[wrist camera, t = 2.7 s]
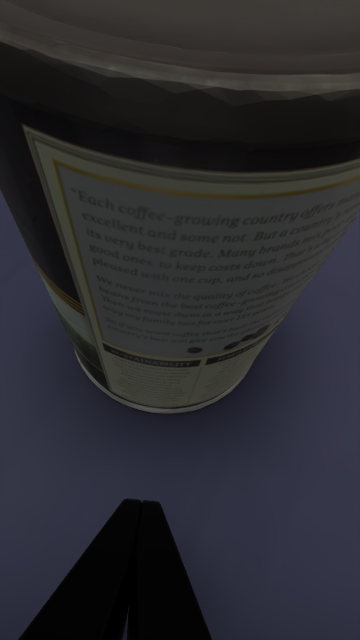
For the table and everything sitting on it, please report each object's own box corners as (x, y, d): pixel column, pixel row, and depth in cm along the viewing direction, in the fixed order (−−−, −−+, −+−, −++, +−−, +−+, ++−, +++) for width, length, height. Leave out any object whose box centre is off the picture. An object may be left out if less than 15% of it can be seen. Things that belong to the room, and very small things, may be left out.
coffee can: (27, 347, 17) (-299, -96, 4) (142, 228, 21) (134, -139, 9) (203, 462, 15) (480, 216, 2) (286, 302, 19) (516, -47, 7)
